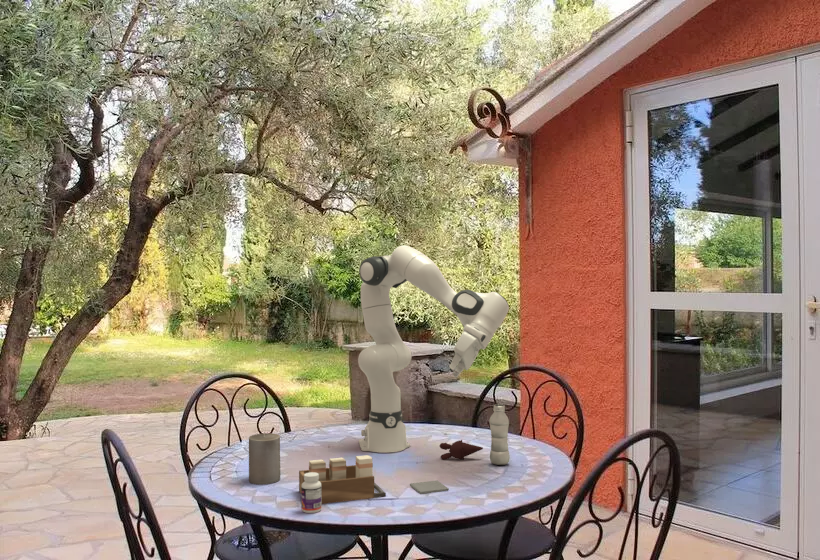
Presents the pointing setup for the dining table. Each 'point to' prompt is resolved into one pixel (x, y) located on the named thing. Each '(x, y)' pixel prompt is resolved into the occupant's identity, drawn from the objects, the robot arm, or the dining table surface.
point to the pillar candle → (264, 458)
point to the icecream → (458, 450)
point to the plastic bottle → (499, 436)
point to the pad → (429, 487)
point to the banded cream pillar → (364, 466)
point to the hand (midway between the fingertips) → (452, 372)
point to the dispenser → (341, 481)
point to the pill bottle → (311, 493)
